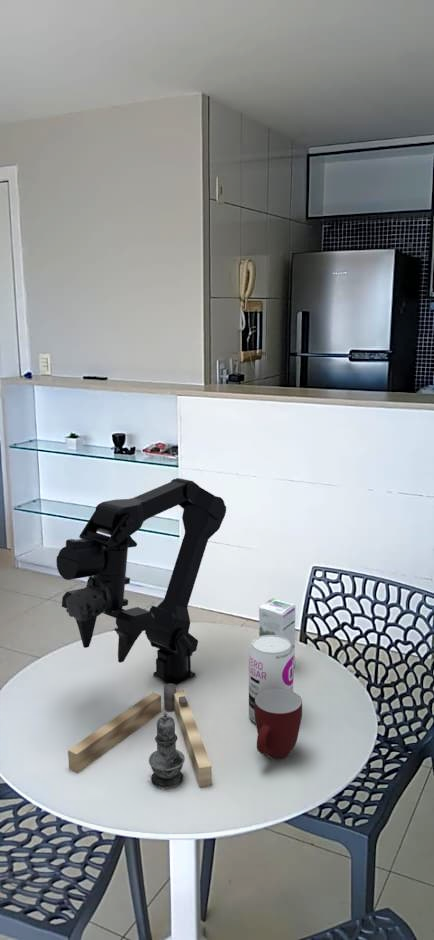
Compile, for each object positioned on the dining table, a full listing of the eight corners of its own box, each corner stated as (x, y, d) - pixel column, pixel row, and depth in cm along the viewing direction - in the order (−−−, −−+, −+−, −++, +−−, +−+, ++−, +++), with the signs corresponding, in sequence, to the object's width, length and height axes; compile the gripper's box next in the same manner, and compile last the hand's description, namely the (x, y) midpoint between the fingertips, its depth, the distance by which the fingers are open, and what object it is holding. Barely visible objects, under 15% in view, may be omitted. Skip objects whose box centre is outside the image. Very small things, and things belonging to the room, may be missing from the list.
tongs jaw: (153, 708, 140) (152, 692, 139) (161, 711, 139) (160, 695, 138) (69, 768, 122) (67, 750, 122) (77, 772, 121) (76, 754, 120)
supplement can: (298, 711, 139) (299, 638, 135) (283, 734, 132) (284, 657, 128) (258, 701, 142) (259, 630, 139) (241, 723, 135) (241, 649, 131)
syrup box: (295, 666, 155) (296, 603, 152) (281, 678, 151) (282, 612, 147) (272, 659, 159) (273, 596, 155) (257, 670, 154) (258, 606, 150)
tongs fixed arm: (163, 705, 141) (162, 684, 140) (182, 702, 142) (182, 681, 141) (188, 789, 117) (187, 764, 116) (211, 785, 118) (211, 760, 117)
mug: (287, 781, 119) (288, 726, 116) (241, 768, 122) (241, 715, 120) (307, 745, 128) (308, 694, 126) (264, 734, 131) (264, 684, 129)
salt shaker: (149, 768, 122) (147, 703, 120) (184, 765, 123) (183, 701, 120) (149, 791, 117) (146, 724, 114) (185, 788, 117) (184, 722, 114)
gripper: (41, 566, 133) (35, 649, 134) (114, 591, 121) (106, 681, 123) (87, 558, 141) (81, 636, 143) (159, 581, 130) (151, 665, 132)
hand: (103, 654), depth 135 cm, fingers open, 9 cm apart
